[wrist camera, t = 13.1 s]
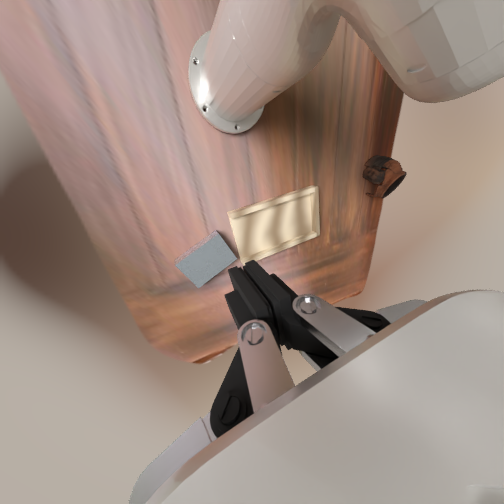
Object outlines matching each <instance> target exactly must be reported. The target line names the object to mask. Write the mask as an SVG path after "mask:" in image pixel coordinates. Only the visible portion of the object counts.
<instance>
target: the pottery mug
mask: <svg viewBox="0 0 504 504" xmlns="http://www.w3.org/2000/svg"><path fill="white" fill-rule="evenodd" d="M365 166H368V168H367V169H365V170H364V172H363V178H365V179H367V180H369V181H370V182H372V183H373V184H380V183H381V182H382V185H378V188H377V189H376V193H375V194H370V193H366V195H368V196H371V197H377V196H379V197H380V198H385V197H386V196H388V195H389V194H390V193H391V192H392V191H394V190H395V189H396V188H397V186H399V184H400V183H401V182H402V181H403V179H404V178H405V176H406V172H404V171H402V168H401V165H400V163H399V162H398V161H395V160H394V159H392V158H389V157H386V156H379V155H376V156H374V157H372V158H371V159H369V160H368V161H367V162H366V164H365ZM382 168H385V169H386V170H385V171H384V170H381V169H382Z"/></svg>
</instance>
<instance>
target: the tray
mask: <svg viewBox="0 0 504 504" xmlns="http://www.w3.org/2000/svg"><path fill="white" fill-rule="evenodd" d="M227 213H228V217H229V221H230V224H231V228H232V232H233V235H234V239H235V243H236V246H237V250H238V254H239V257H240V261H241V263H242V264H243V265H244V266H245V263H246V262H248V261H251V260H255V261H258V260H260V259H263V258H265V257H267V256H270V255H272V254H275V253H277V252H280V251H282V250H285V249H287V248H290V247H292V246H294V245H297V244H299V243H302V242H304V241H307V240H309V239H312V238H314V237H317V236H319V235H320V225H319V195H318V186H309V187H306V188H303V189H299V190H296V191H293V192H290V193H287V194H283V195H280V196H277V197H274V198H271V199H267V200H264V201H261V202H258V203H255V204H251V205H248V206H245V207H242V208H239V209H235V210H232V211H229V212H227Z"/></svg>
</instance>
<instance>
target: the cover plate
mask: <svg viewBox="0 0 504 504" xmlns="http://www.w3.org/2000/svg"><path fill="white" fill-rule="evenodd" d="M236 259H237V258H236V256H235V255H234V254H233V252H232V251H231V250H230V248H229V247H228V246H227V244H226V243H225V241H224V240H223V239H222V237H221V236H220V235H219V233H218V232H217V231H216V230H215V231H214V232H212V233H211V234H210V235H208V236H207V237H205V238H204V239H203V240H201V241H200V242H199V243H197V244H196V245H194V246H193V247H192V248H190V249H189V250H188V251H186V252H185V253H183V254H182V255H181V256H179V257H178V258H177V259H175V266H176V267H177V268H178V269H179V270H180V271H181V272H183V273H184V274H185V275H186V276H187V277H188V278H189V279H190V280H191V281H192V282H193V283H194V284H195V285H196V286H197V287H198V288H200V287H201V286H202V285H204V284H205V283H206V282H207V281H209V280H210V279H211V278H213V277H214V276H215V275H217V274H218V273H219V272H221V271H222V270H223V269H225V268H226V267H227V266H229V265H230V264H231V263H232V262H234V261H235V260H236Z"/></svg>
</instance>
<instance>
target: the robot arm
mask: <svg viewBox="0 0 504 504" xmlns="http://www.w3.org/2000/svg"><path fill="white" fill-rule="evenodd" d="M340 16H343V17H344V18H345V19H346V20H347V21H348V23H349V24H350V25H351V26H352V27H353V29H354V30H355V31H356V33H357V34H358V36H359V37H360V38H361V39H363V40H364V41H365V43H366V44H367V45H368V47H369V48H370V49H371V51H372V52H373V54H374V55H375V56H376V58H377V59H378V60H379V62H380V63H381V65H382V66H383V67H384V69H385V70H386V71H387V73H388V74H389V76H390V77H391V78H392V79H393V81H394V82H395V83H396V85H397V86H398V87H399V88H400V89H401V90H402V91H403V92H404V93H405V94H406V95H407V96H409V97H410V98H412V99H414V100H417V101H419V102H427V103H437V102H444V101H449V100H453V99H456V98H459V97H462V96H465V95H467V94H470V93H472V92H474V91H477V90H479V89H481V88H483V87H485V86H487V85H489V84H491V83H493V82H495V81H497V80H498V79H500V78H502V77H504V0H220V3H219V6H218V9H217V13H216V16H215V19H214V23H213V26H212V29H211V30H210V31H208V32H206V33H205V34H203V35H202V36H201V37H200V38H199V39H198V41H197V42H196V43H195V45H194V47H193V49H192V52H191V56H190V60H189V66H188V81H189V88H190V91H191V95H192V98H193V100H194V103H195V105H196V107H197V109H198V110H199V112H200V113H201V115H202V116H203V117H204V118H205V120H206V121H207V122H208V123H209V124H211V125H212V126H213V127H214V128H216V129H218V130H220V131H222V132H225V133H230V134H237V133H242V132H244V131H246V130H248V129H250V128H251V127H252V126H253V125H254V124H256V122H257V121H258V120H259V118H260V116H261V114H262V112H263V110H264V106H265V104H267V103H268V102H269V101H271V100H272V99H274V98H275V97H276V96H278V95H279V94H281V93H282V92H283V91H285V90H286V89H288V88H289V87H290V86H292V85H293V84H295V83H296V82H297V81H299V80H300V79H302V78H303V77H304V76H306V75H307V74H308V73H309V72H310V71H311V70H313V68H314V67H315V66H316V65H317V64H318V63H319V62H320V60H321V59H322V57H323V56H324V54H325V52H326V51H327V49H328V47H329V45H330V43H331V41H332V38H333V36H334V33H335V31H336V28H337V25H338V22H339V19H340ZM193 62H195V63H196V64H197V65H195V64H194V63H193ZM203 109H205V110H206V112H204V111H203ZM235 127H236V128H237V130H236V129H235ZM243 270H244V271H243ZM228 272H229V275H230V278H231V282H232V285H233V288H234V291H232V292H230V293H228V294H225V298H226V301H227V304H228V307H229V309H230V312H231V314H232V316H233V319H234V321H235V323H236V325H237V328H238V330H239V331H238V334H237V337H238V343H239V348H238V350H237V352H236V354H235V357H234V359H233V361H232V363H231V366H230V368H229V370H228V372H227V374H226V376H225V378H224V381H223V383H222V385H221V387H220V390H219V392H218V394H217V396H216V398H215V400H214V403H213V405H212V409H211V411H210V412H209V413H208V414H207V415H206V416H205V417H204V418H203V419H202V418H201V417H200V418H199V419H198V420H197V421H196V422H194V423H193V424H192V425H191V426H190V427H189V428H188V429H187V430H186V431H185V432H184V433H183V434H182V435H180V437H179V438H177V439H176V440H175V441H174V442H173V443H172V444H171V445H170V446H169V447H168V448H167V449H165V450H164V451H163V452H162V453H161V454H160V455H159V456H158V457H157V458H156V459H155V460H154V461H153V462H151V463H150V464H149V465H148V466H147V468H146V469H145V470H144V471H143V472H142V474H141V475H140V476H139V478H138V480H137V482H136V484H135V486H134V488H133V491H132V494H131V497H130V500H129V504H504V292H500V291H494V290H468V291H461V292H455V293H451V294H447V295H443V296H440V297H437V298H435V299H432V300H430V301H428V302H427V301H424V300H410V301H406V302H403V303H400V304H396V305H393V306H390V307H386V308H382V309H379V310H377V313H375V312H372V311H366V310H357V309H349V308H341V307H334V306H332V305H331V304H329V303H327V302H326V301H324V300H323V299H321V298H319V297H317V296H315V295H311V294H304V295H300V296H298V295H297V294H296V293H295V292H294V291H292V290H291V289H290V288H289V287H288V286H287V285H286V284H285V283H284V282H283V281H282V280H281V279H280V278H279V277H277V276H276V275H275V274H271V275H269V274H268V273H267V272H266V271H265V270H264V269H263V268H262V267H261V266H260V265H259V264H258V263H257V262H256V261H255V260H251V261H248V262H246V263H245V266H243V269H242V268H241V267H240V268H238V267H237V266H236V267H233V268H231V269H228ZM280 345H281V346H283V345H285V346H286V348H287V349H288V350H289V349H291V348H293V349H295V350H299V352H300V354H301V355H302V356H303V357H304V358H305V359H306V361H307V362H308V363H309V364H310V365H311V366H312V367H313V368H314V369H315V370H316V371H317V372H316V373H315V374H313V375H312V376H310V377H308V378H307V379H305V380H304V381H302V382H301V383H299V384H298V385H296V386H295V384H294V383H293V380H292V378H291V375H290V373H289V371H288V368H287V366H286V364H285V361H284V359H283V357H282V352H281V348H280Z"/></svg>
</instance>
